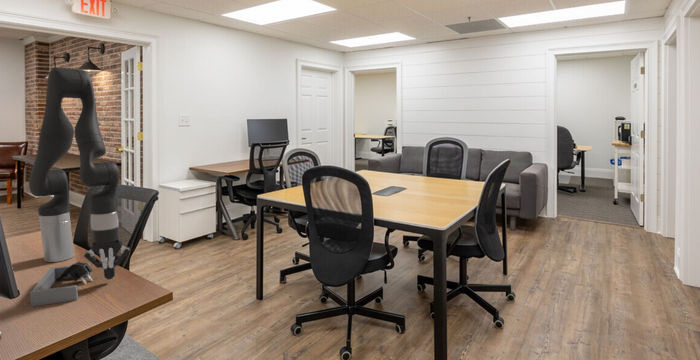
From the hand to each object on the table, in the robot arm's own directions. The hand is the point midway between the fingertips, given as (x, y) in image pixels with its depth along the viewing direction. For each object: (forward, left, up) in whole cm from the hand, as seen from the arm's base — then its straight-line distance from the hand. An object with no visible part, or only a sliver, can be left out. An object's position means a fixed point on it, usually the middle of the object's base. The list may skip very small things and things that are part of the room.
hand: (109, 278), depth 135 cm
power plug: (-5, -11, -2) cm, 12 cm away
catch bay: (0, -12, -1) cm, 12 cm away
